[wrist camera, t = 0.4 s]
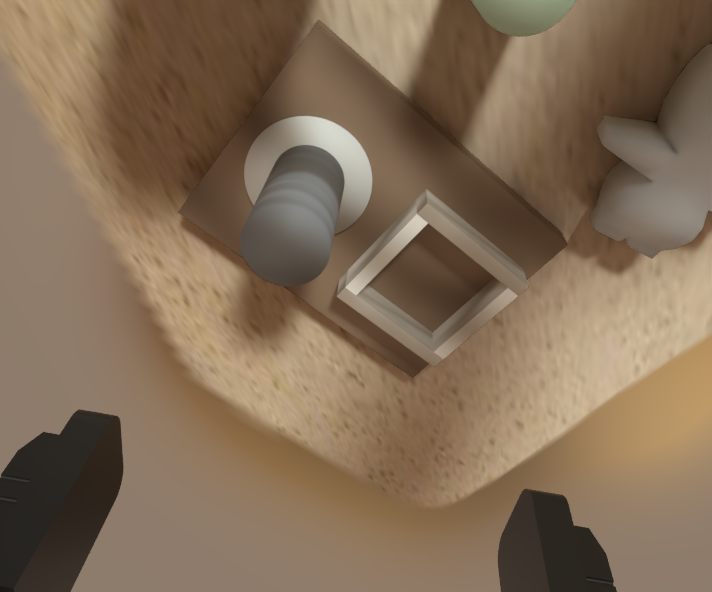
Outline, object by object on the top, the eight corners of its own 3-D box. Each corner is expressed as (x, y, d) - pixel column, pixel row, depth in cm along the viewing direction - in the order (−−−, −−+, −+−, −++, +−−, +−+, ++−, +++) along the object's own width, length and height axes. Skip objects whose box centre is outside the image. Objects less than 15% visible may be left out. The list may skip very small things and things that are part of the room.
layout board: (318, 19, 31) (289, 59, 23) (561, 232, 37) (606, 325, 29) (185, 201, 37) (125, 284, 29) (412, 363, 43) (414, 470, 34)
